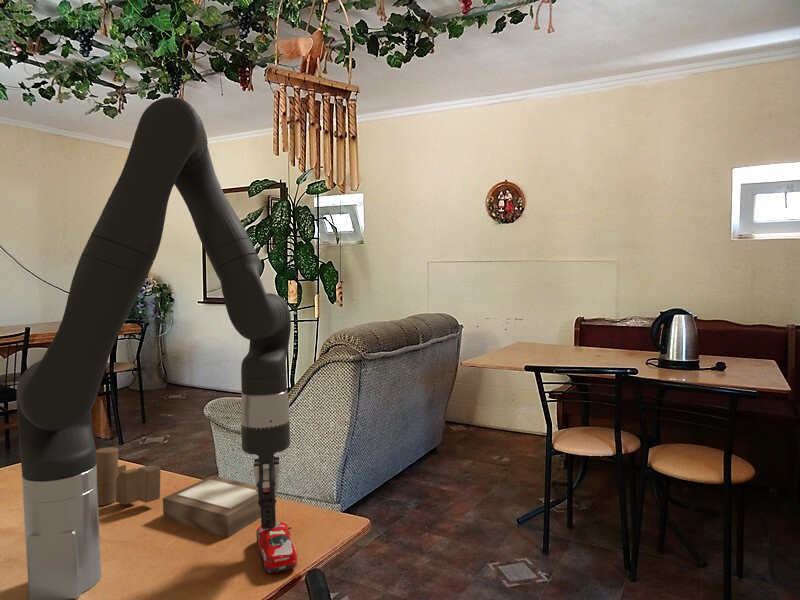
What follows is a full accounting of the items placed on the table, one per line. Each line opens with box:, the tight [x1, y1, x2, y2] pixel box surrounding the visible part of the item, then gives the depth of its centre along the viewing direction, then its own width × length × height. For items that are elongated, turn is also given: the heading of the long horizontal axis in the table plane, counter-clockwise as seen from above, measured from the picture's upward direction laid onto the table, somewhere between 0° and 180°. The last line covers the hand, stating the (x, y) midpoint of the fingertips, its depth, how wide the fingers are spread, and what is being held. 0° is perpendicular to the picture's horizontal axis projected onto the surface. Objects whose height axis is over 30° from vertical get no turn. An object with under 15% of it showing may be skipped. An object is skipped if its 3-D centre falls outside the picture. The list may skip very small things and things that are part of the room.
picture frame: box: [162, 475, 261, 538], centre depth 103 cm, size 16×12×4 cm
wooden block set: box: [96, 446, 162, 506], centre depth 110 cm, size 18×9×10 cm, turn 57°
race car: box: [256, 520, 298, 574], centre depth 89 cm, size 13×5×4 cm, turn 19°
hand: (268, 525), depth 89 cm, fingers closed
